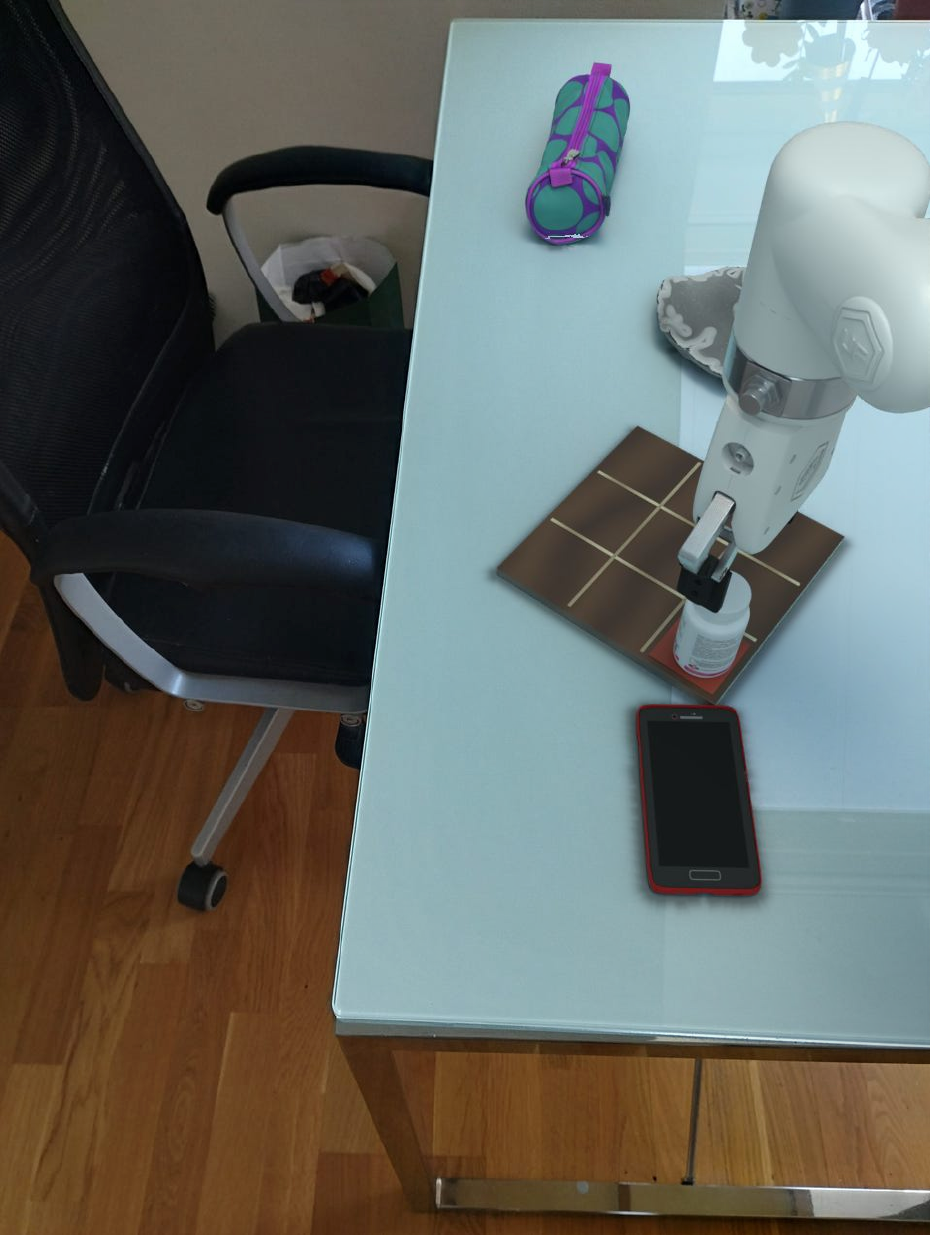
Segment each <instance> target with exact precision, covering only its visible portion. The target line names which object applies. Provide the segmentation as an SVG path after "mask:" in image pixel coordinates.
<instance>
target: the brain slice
mask: <svg viewBox="0 0 930 1235" xmlns="http://www.w3.org/2000/svg"><path fill="white" fill-rule="evenodd" d="M746 267H747V266H724V267H721V268H719V269H715V270H711V271H709V272H706V273H702V274H697V275H678V276H670V277H666V278H664V279H663V280H662V282H661V284H660V286H659V288H658V291H657V295H656V303H657V305H656V306H657V307H656V311H657V313H656V315H657V316H656V317H657V322H658V328H659V329H660V330H661V332H663V333H664V335H665V337H666V339H667V340H668V342H669V343H670V344H671V345H672V346H673V347H674V348H675V349H676V350H677V351H678V353H679V354H680V355H681V357H682V358H683V359H685V360H688V361H690V362H692V363H694V364H696V365H697V366H698V367H699V368H701V369H702V370H704V371H705V372H707V373H708V374H710V375H712V376H714V377H717V378H720V379H722V369H723V365H724V361H725V356H726V352H727V348H728V343H729V339H730V335H731V330H732V326H733V322H734V319H735V314H736V310H737V306H738V301H739V297H740V293H741V288H742V284H743V280H744V275H745V271H746Z"/></svg>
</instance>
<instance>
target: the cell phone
mask: <svg viewBox="0 0 930 1235" xmlns="http://www.w3.org/2000/svg"><path fill="white" fill-rule="evenodd" d="M635 716H636V717H635V728H636V738H637V739H638V752H639V764H640V765H639V781H640V793H641V806H642V807H641V808H642V819H643V831H644V833H643V834H644V845H645V859H646V871H647V872H646V873H647V879H648V884H649V888H650V889H651V891H653V892H654V893H657V894H659V895H660V894H661V895H671V896H672V895H673V896H675V895H682V896H695V895H696V894H712V896H713V897H715V896H717V897H749V896H751V897H752V896H754V895H757V894H758V893H759V892H760V890H761V889H762V884H763V883H762V881H763V880H762V870H761V869H762V868H761V862H760V856H759V846H758V840H757V833H756V826H755V817H754V811H753V805H752V804H753V803H752V797H751V790H750V784H749V777H748V775H749V774H748V769H747V762H746V755H745V754H746V753H745V747H744V741H743V733H742V726H741V721H740V717H739V714H738V711H737V709H735V708H734V707H732V706H729V705H719V704H718V705H702V704H671V703H670V704H668V703H667V704H663V703H660V704H659V703H650V704H643V705H641V706H639V707H638V709H637V711H636V715H635Z"/></svg>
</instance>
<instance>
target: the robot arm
mask: <svg viewBox="0 0 930 1235" xmlns="http://www.w3.org/2000/svg"><path fill="white" fill-rule="evenodd" d="M769 168H770V169H769V170H768V174H767V178H766V182H765V185H764V188H763V189H764V190H763V195H762V199H761V203H760V207H759V211H758V215H757V220H756V225H755V228H754V232H753V237H752V242H751V246H750V251H749V254H748V259H747V263H746V266H745V267H746V271H745V275H744V280H743V284H742V288H741V293H740V297H739V301H738V306H737V310H736V314H735V319H734V322H733V326H732V330H731V335H730V339H729V343H728V348H727V352H726V356H725V361H724V365H723V369H722V378H721V379H722V383H723V385H724V389H725V391H726V393H727V395H726V397H725V399H724V402H723V405H722V408H721V411H720V413H719V415H718V419H717V420H716V424H715V427H714V430H713V433H712V436H711V439H710V442H709V445H708V448H707V451H706V455H705V458H704V460H703V461H704V464H703V468H702V471H701V474H700V478H699V482H698V486H697V490H696V494H695V499H694V505H693V519H694V522H695V524H696V526H695V527H694V529H693V531H692V532H691V534H690V535H689V537H688V538H687V540H686V541H685V543H684V544H683V546H682V547H681V549H680V551H679V553H678V558H679V561H680V562H679V565H680V566H681V571H680V576H679V580H678V584H677V591H678V592H679V593H680V594H682V595H683V596H685V597H686V598H687V599H688V600H689V601H691V602H693V603H694V604H696V605H699V606H702V607H704V608H706V609H708V610H709V611H711V612H713V613H718V612H719V610H720V609H721V608H722V606H723V603H724V600H725V596H726V593H727V590H728V587H729V583H730V580H731V577H732V572H731V571H730V570H729V567H730V565H731V563H732V562H733V560H734V558H735V556H736V554H737V552H738V551H739V549H740V550H742V551H745V552H747V553H748V554H755V553H758V552H760V551H762V550H764V549H765V548H766V547H767V546H768V545H769V544H770V543H771V542H772V540H773V539H774V538H775V537H776V536H777V535H778V533H779V532H780V531H781V530H782V529H783V527H784V526H785V525H786V524H790V523H792V521H793V520H794V519H795V517H796V515H797V512H799V509H800V508H801V507H802V506H803V505H804V503H805V502H806V501H807V500H808V498H809V497H810V496H811V494H813V492H814V491H815V490H816V489H817V487H818V486H819V484H820V483H821V481H822V480H823V478H824V477H825V476H826V474H827V472H828V470H829V467H830V464H831V462H832V459H833V457H834V454H835V450H836V446H837V444H838V440H839V437H840V435H841V434H840V433H841V430H842V427H843V424H844V422H845V417H846V414H847V413H848V412H849V410H850V409H851V408H852V407H853V405H854V404H855V402H856V400H857V398H860V399H861V400H862V401H864V402H865V403H867V404H868V405H870V406H871V407H872V408H874V409H877V410H879V411H882V412H885V413H890V414H900V415H901V414H909V413H916V412H920V411H923V410H926V409H928V408H930V217H926V213H927V211H928V207H929V205H930V164H929V161H928V159H927V156H926V155H925V153H923V151H922V150H921V149H920V148H919V147H918V146H917V145H916V144H915V143H913V142H912V141H911V140H910V139H909V138H907V137H906V136H904V135H902V134H901V133H898V132H897V131H894V130H892V129H889V128H888V127H887V128H886V127H884V126H881V125H877V124H872V123H867V122H862V121H851V120H850V121H849V120H847V121H842V120H841V121H830V122H824V123H820V124H817V125H814V126H810V127H808V128H805V129H803V130H802V131H799V132H797V133H796V134H794V135H793V136H792V137H791V138H790V139H789V140H787V141H786V142H785V143H784V144H783V145H782V147H781V148H780V150H779V151H778V152H777V153H776V155H775V156H774V159H773V160H772V162H771V164H770V167H769ZM731 516H733V518H732V521H731V525H732V529H731V528H729V527H727V526H725V525H726V523H727V522H728V520H729V519H730V517H731ZM718 536H719V537H721V538H723V539H725V540H726V541H728V542H729V543H728V545H727V547H726V549H725V551H724V553H723V555H722V556H721V558H720V559H718V558H716V557H714V556H713V555H711V554H709V553H708V552H709V550H710V548H711V546H712V545H713V543H714V542H715V540H716V539H717V537H718Z"/></svg>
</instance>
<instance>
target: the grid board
mask: <svg viewBox="0 0 930 1235" xmlns="http://www.w3.org/2000/svg"><path fill="white" fill-rule="evenodd" d="M704 461H705V460H703V459H701V458H699V457H697V456H696V455H693V454H691V453H689V452H688V451H686V450H684V449H682V448H680V447H679V446H677V445H675V444H673V443H672V442H669V441H667V440H666V439H664V438H662V437H660V436H658V435H656V434H655V433H653V432H651V431H649V430H647V429H646V428H643V427H642V426H639V425H636V426H635V427H634V428H633V429H632V430H631V431H630V432H629V433H628V435H626V436H625V438H624V439H623V440H621V441H620V443H618V444H617V446H615V447H614V449H612V450H611V451H610V453H608V454H607V456H606V457H604V459H602V461H601V462H600V463H599V464H597V465H596V467H595V468H594V469H593V470H592V471H591V472H589V473H588V474H587V476H586V477H584V479H582V481H581V482H580V483H579V484H578V485H577V486H575V488H574V489H573V490H572V491H571V492H570V493H569V494H568V495H567V496H566V497H565V498H564V499H563V500H562V501H561V502H560V503H559V504H558V505H557V506H556V507H555V508H554V509H553V510H552V511H551V512H550V513H549V514H548V515H547V516H546V517H545V518H544V519H543V521H541V522H540V523H539V524H538V525H537V526H536V527H535V529H534V530H532V531H531V532H530V533H529V535H528V536H526V537H525V539H523V541H522V542H521V543H520V544H519V545H517V547H516V548H515V549H514V550H513V551H512V552H511V553H510V554H509V555H507V557H506V558H505V559H504V560H503V561H502V562H501V563H500V564H499V565H498V566H497V567H496V576H499V577H500V578H502V579H503V580H505V581H506V582H507V583H510V584H511V585H513V586H514V587H515V588H517V589H519V590H520V591H522V592H524V593H525V594H527V595H528V596H530V597H532V598H533V599H535V600H537V601H538V602H540V603H541V604H543V605H544V606H546V607H547V608H548V609H551V610H552V611H554V612H555V613H557V614H559V615H560V616H561V617H563V618H564V619H566V620H568V621H570V622H571V623H572V624H574V625H575V626H577V627H579V628H580V629H582V630H583V631H585V632H587V633H588V634H590V635H591V636H593V637H594V638H596V639H598V640H599V641H601V642H602V643H604V644H606V645H607V646H609V647H610V648H612V649H613V650H615V651H617V652H619V654H621V655H623V656H625V657H626V658H628V659H629V660H630V661H632V662H634V663H636V664H637V665H639V666H640V667H642V668H644V669H645V670H647V671H649V672H651V674H654V675H655V676H656V677H657V678H659V679H661V680H663V681H664V682H665V683H668V684H669V685H670V686H672V687H674V688H675V689H677V690H678V691H680V692H681V693H683V694H684V695H686V696H688V697H690V698H691V699H692V700H694V701H696V702H698V704H700V705H719V703H720V702H721V701H722V699H724V697H725V696H726V694H727V693H728V692H729V690H731V688H732V687H733V686H734V684H735V683H736V682H737V680H738V679H739V678H740V676H741V675H742V674H743V672H744V671H745V670H746V668H748V665H749V664H750V663H751V662H752V661H753V659H754V658H755V657H756V655H757V654H758V653H759V652H760V651H761V649H762V648H763V646H764V645H765V644H766V643H767V641H768V640H769V638H770V637H771V636H772V635H773V634H774V632H775V631H776V630H777V628H778V627H779V626H780V624H781V623H782V622H783V620H784V619H785V618H786V617H787V615H788V614H789V613H790V612H791V610H792V608H793V607H794V606H795V605H796V604H797V602H798V601H799V599H800V598H801V597H802V596H803V594H805V592H806V591H807V589H808V588H809V587H810V586H811V584H812V583H813V582H814V580H815V579H816V577H817V576H818V575H819V574H820V572H821V571H822V570H823V569H824V567H825V566H826V565H827V564H828V562H829V561H830V559H831V558H832V557H833V555H834V554H835V553H836V551H837V550H838V549H839V548H840V546H841V545H842V543H843V542H844V539H845V536H844V535H843V534H841V533H839V532H838V531H836V530H834V529H831V528H830V527H828V526H826V525H824V524H822V523H820V522H819V521H816V520H815V519H813V518H812V517H809V516H808V515H805V514H804V513H802V512H800V511H798V512H797V515H796V517H795V519H794V520H793V521H792V523H790V524H786V525H785V526H784V527H783V529H782V530H781V531H780V532H779V533H778V535H777V536H776V537H775V538H774V539H773V540H772V542H771V543H770V544H769V545H768V546H767V547H766V548H765V549H764V550H762V551H760V552H758V553H755V554H748V553H747V552H745V551H742V550H740V549H739V551H738V552H737V554H736V556H735V558H734V560H733V562H732V563H731V565H730V567H729V570H730V571H733V572H736V573H737V574H739V575H741V576H742V577H743V578H744V579H745V580H746V581H747V582H748V584H749V586H750V589H751V600H750V604H749V609H750V617H749V621H748V624H747V627H746V629H745V632H744V634H743V637H742V640H741V642H740V645H739V648H738V651H737V653H736V656H735V659H734V661H733V664H732V665H731V667H730V668H729V669H728V670H727V671H726V672H725V673H723V674H722V675H719V676H717V677H712V678H701V677H697V676H694V675H691V674H689V673H688V672H686V671H685V670H683V669H682V668H681V667H680V665H679V664H678V663H677V661H676V659H675V657H674V653H673V646H674V640H675V637H676V634H677V630H678V627H679V623H680V619H681V616H682V612H683V609H684V605H685V602H686V600H687V598H686V597H685V596H683V595H682V594H680V593H679V592H678V591H677V584H678V580H679V576H680V571H681V566H680V565H679V562H680V561H679V558H678V553H679V551H680V549H681V547H682V546H683V544H684V543H685V541H686V540H687V538H688V537H689V535H690V534H691V532H692V531H693V529H694V527H695V526H696V524H695V522H694V519H693V505H694V499H695V494H696V490H697V486H698V482H699V478H700V474H701V471H702V468H703V464H704ZM732 518H733V516H731V517H730V519H729V520H728V522H727V523H726V525H725V526H727V527H729V528H731V529H732V525H731V521H732ZM728 543H729V542H728V541H726V540H725V539H723V538H721V537H719V536H718V537H717V539H716V540H715V542H714V543H713V545H712V546H711V548H710V550H709V552H708V553H709V554H711V555H713V556H714V557H716V558H718V559H720V558H721V556H722V555H723V553H724V551H725V549H726V547H727V545H728Z"/></svg>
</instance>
